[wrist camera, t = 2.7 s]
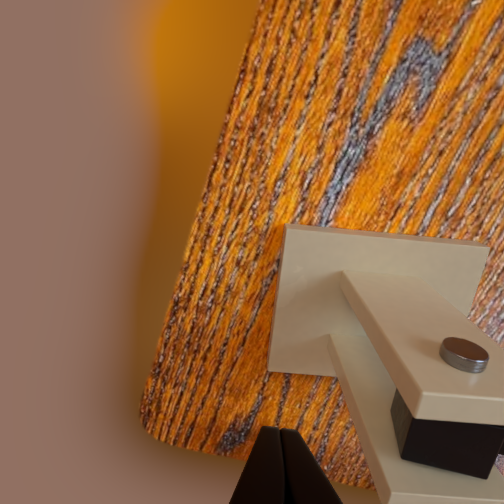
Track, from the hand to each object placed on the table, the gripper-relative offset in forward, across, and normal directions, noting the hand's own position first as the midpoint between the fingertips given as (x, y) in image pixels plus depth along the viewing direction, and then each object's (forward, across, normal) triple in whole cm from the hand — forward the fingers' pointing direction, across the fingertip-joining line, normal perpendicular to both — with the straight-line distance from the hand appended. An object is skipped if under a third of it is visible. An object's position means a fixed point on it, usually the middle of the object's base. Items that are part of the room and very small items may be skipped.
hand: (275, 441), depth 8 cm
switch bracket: (+13, -6, +2) cm, 15 cm away
